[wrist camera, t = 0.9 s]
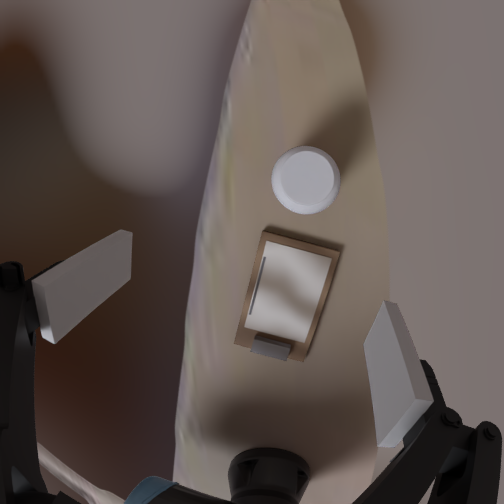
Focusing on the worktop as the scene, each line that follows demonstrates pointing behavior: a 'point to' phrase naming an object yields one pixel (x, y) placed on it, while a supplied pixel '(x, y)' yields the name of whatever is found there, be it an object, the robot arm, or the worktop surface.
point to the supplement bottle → (306, 180)
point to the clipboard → (285, 296)
